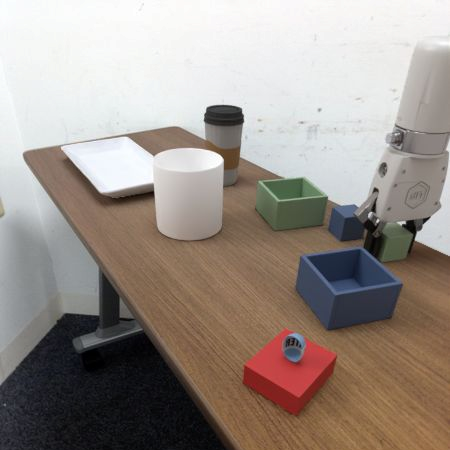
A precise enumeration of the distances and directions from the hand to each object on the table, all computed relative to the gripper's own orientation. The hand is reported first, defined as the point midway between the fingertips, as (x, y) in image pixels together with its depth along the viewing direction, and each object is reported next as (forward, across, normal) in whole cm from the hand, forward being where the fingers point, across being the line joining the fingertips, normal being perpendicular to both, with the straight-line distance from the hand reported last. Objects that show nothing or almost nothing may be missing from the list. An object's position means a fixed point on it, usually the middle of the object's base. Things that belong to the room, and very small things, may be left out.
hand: (386, 251), depth 70 cm
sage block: (+1, 0, 0) cm, 1 cm away
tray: (+1, -39, +46) cm, 60 cm away
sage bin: (+1, -10, +17) cm, 20 cm away
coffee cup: (+1, -17, +37) cm, 41 cm away
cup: (+1, -29, +18) cm, 34 cm away
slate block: (+1, -3, +8) cm, 9 cm away
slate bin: (+1, -14, -10) cm, 17 cm away
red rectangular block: (+1, -27, -21) cm, 34 cm away
